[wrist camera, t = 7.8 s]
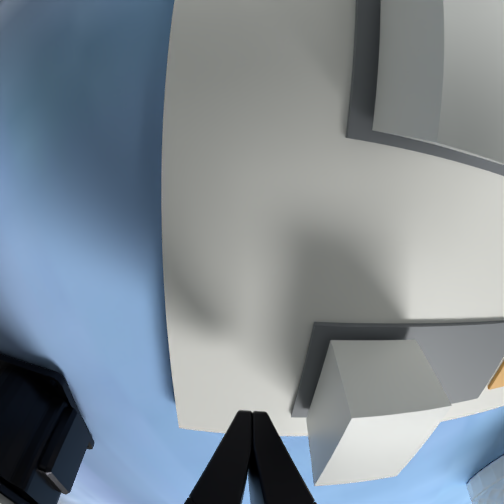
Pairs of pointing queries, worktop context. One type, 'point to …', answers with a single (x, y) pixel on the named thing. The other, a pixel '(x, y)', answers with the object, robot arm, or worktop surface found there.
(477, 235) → the switch unit
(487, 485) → the white cup
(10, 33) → the worktop surface
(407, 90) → the middle slider
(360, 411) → the block
